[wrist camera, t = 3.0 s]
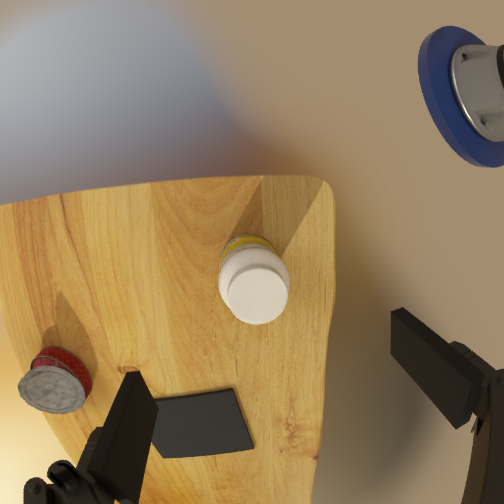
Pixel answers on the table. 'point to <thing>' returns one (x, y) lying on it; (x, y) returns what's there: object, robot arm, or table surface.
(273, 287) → the pill bottle
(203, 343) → the table surface
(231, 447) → the mat
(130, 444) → the robot arm
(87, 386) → the canned food
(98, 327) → the table surface
